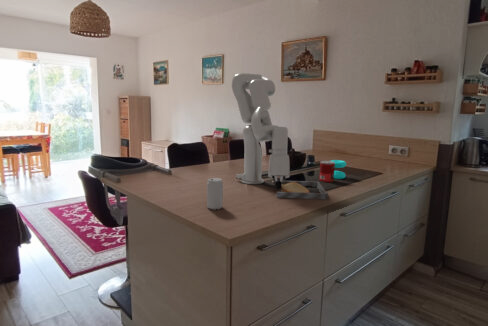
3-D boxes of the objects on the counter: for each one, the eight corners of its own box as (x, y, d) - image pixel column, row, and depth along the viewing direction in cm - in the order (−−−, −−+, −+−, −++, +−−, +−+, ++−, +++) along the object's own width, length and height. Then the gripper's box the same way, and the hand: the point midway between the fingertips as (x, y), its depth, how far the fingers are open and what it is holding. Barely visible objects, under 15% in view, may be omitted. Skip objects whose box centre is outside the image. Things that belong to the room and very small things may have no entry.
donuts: (347, 160, 197) (345, 163, 188) (346, 176, 199) (344, 179, 190) (330, 159, 201) (328, 161, 191) (329, 175, 202) (327, 178, 193)
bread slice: (309, 198, 152) (309, 190, 151) (272, 194, 158) (272, 186, 157) (315, 189, 168) (315, 182, 167) (281, 186, 174) (281, 179, 174)
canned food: (334, 182, 182) (335, 163, 180) (319, 181, 184) (320, 162, 182) (333, 179, 189) (334, 161, 188) (319, 178, 191) (320, 160, 189)
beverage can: (207, 205, 137) (207, 177, 135) (222, 205, 138) (222, 177, 136) (206, 210, 131) (206, 181, 129) (222, 210, 132) (223, 181, 129)
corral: (276, 197, 151) (276, 192, 150) (274, 185, 175) (274, 180, 174) (327, 199, 149) (327, 194, 149) (318, 186, 173) (318, 181, 173)
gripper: (264, 152, 156) (263, 190, 159) (295, 153, 155) (294, 191, 158) (264, 150, 163) (263, 186, 166) (294, 151, 162) (292, 187, 165)
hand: (278, 188), depth 162 cm, fingers closed
